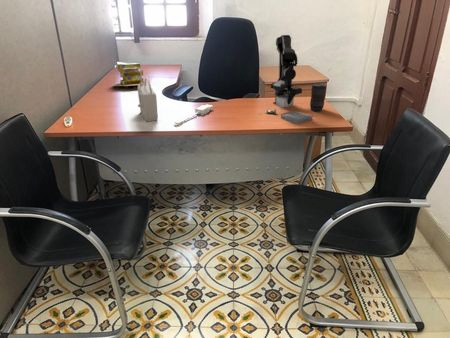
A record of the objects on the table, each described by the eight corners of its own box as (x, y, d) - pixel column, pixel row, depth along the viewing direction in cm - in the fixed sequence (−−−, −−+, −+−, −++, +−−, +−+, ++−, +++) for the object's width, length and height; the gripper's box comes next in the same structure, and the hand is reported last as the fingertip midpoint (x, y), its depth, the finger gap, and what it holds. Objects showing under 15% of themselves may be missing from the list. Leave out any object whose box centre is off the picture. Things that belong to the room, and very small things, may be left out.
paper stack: (113, 83, 257) (109, 59, 249) (147, 81, 263) (145, 58, 255) (112, 92, 236) (108, 67, 228) (149, 89, 242) (147, 65, 234)
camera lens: (306, 108, 206) (309, 83, 199) (318, 107, 209) (321, 82, 202) (314, 112, 200) (317, 86, 193) (326, 111, 202) (329, 85, 195)
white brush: (171, 127, 182) (170, 121, 180) (206, 108, 206) (206, 102, 204) (179, 129, 180) (178, 123, 178) (213, 109, 203) (213, 104, 202)
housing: (275, 105, 198) (276, 96, 196) (285, 102, 203) (286, 94, 200) (283, 107, 194) (284, 99, 192) (293, 105, 199) (294, 96, 196)
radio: (137, 111, 201) (132, 67, 189) (151, 109, 204) (147, 66, 192) (143, 123, 183) (138, 76, 171) (159, 122, 185) (154, 74, 174)
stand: (280, 118, 191) (281, 114, 190) (295, 113, 198) (295, 110, 197) (297, 124, 183) (298, 120, 182) (312, 119, 190) (312, 115, 189)
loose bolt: (266, 113, 198) (266, 109, 196) (266, 112, 200) (267, 108, 199) (275, 114, 196) (275, 110, 195) (276, 113, 199) (276, 108, 197)
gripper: (264, 74, 192) (263, 101, 200) (290, 80, 180) (287, 109, 187) (278, 71, 199) (276, 98, 206) (304, 77, 186) (301, 105, 193)
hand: (284, 102), depth 198 cm, fingers closed on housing, 6 cm apart
